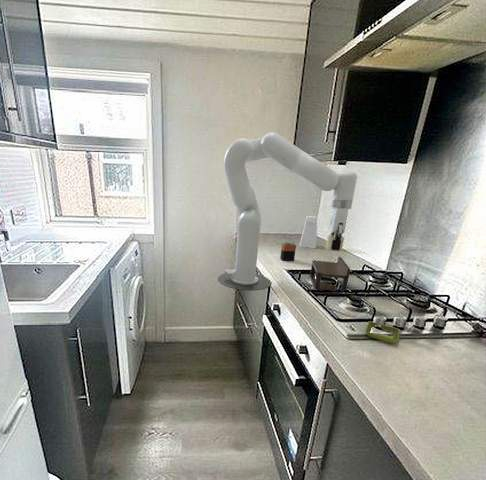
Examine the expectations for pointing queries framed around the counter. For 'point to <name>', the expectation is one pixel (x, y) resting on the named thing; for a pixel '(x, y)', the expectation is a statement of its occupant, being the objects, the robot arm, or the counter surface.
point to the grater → (309, 235)
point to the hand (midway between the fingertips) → (333, 247)
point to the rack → (329, 274)
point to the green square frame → (383, 337)
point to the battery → (288, 251)
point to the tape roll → (329, 243)
